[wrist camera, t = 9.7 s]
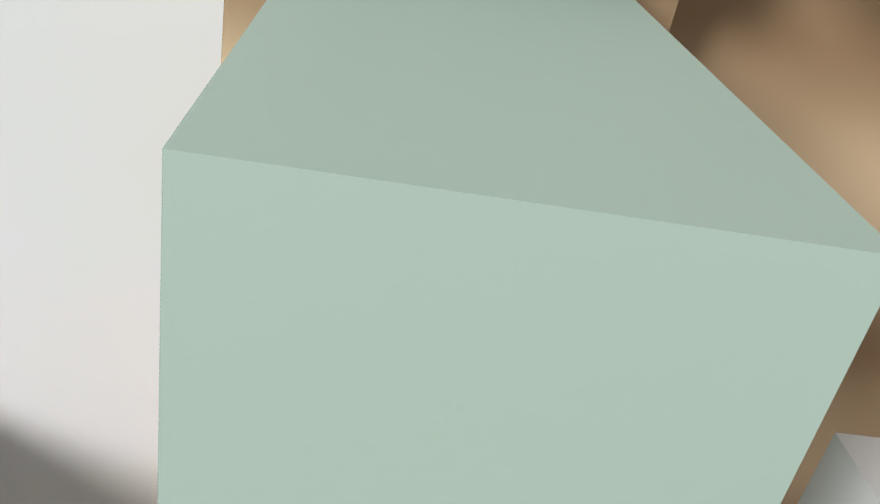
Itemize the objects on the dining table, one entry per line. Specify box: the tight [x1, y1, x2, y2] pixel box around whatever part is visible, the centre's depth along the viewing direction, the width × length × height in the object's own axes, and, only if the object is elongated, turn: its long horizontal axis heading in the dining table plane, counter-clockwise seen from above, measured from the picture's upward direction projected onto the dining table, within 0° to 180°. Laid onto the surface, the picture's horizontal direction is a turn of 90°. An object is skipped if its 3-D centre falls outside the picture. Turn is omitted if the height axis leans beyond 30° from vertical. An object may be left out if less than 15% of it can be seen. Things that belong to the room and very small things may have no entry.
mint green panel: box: [157, 0, 880, 504], centre depth 13 cm, size 14×4×12 cm, turn 170°
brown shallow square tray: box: [221, 0, 880, 504], centre depth 17 cm, size 20×20×6 cm
